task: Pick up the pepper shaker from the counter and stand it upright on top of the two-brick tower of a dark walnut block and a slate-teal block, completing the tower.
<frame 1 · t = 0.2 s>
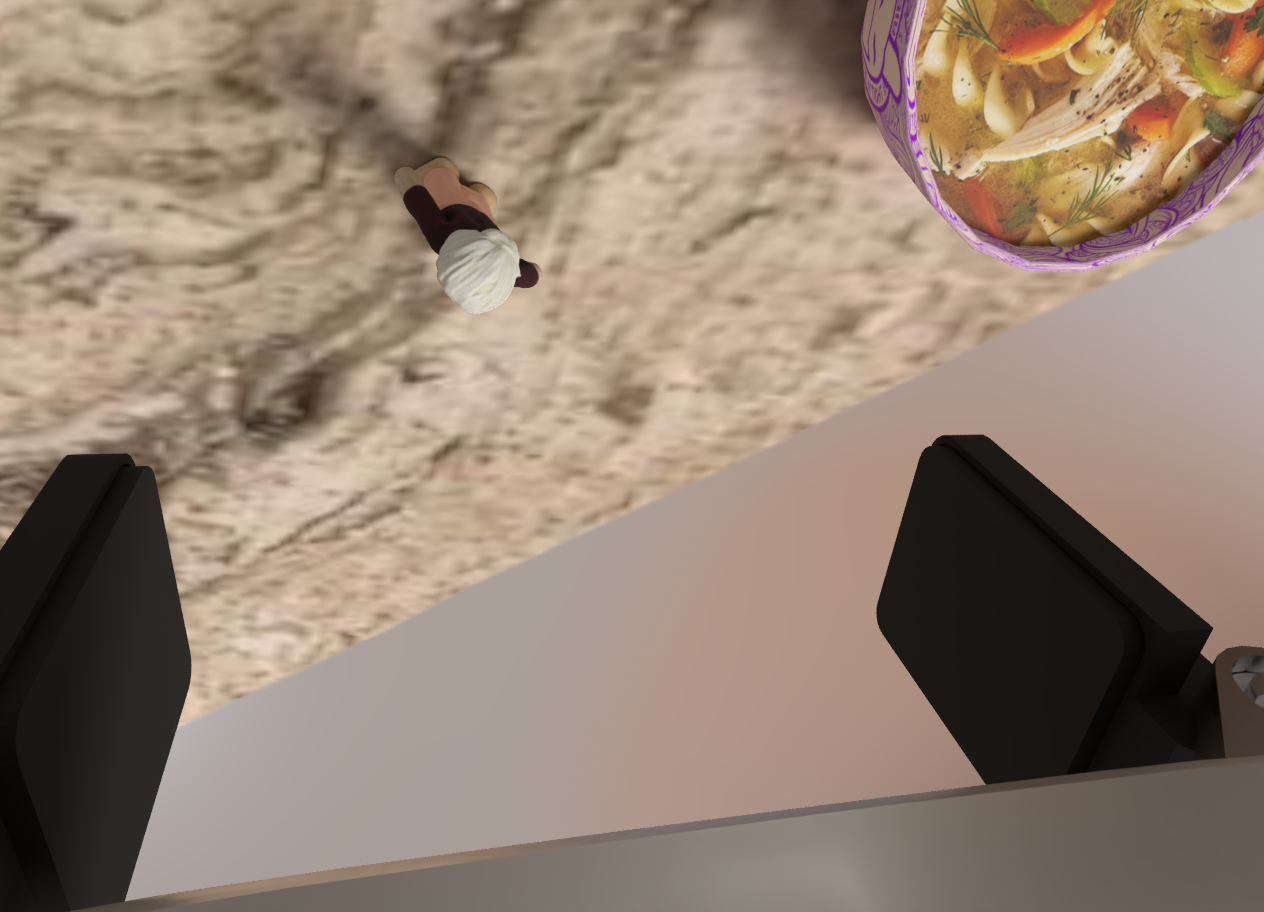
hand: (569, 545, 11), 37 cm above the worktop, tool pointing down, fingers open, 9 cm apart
bowl of food: (975, 14, 45), on the worktop
grandmother figurine: (461, 202, 44), on the worktop
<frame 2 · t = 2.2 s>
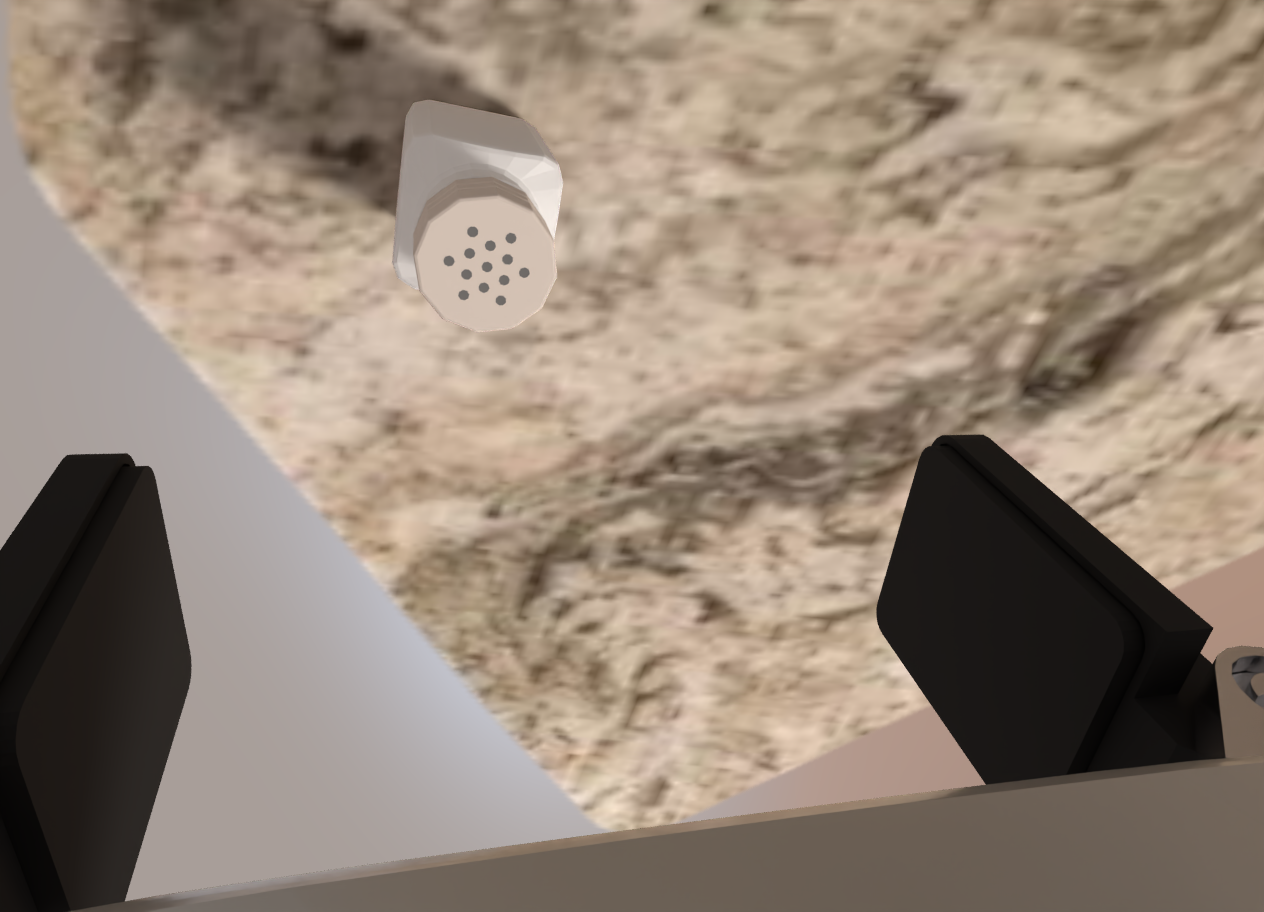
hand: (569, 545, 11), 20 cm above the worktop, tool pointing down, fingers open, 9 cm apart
pepper shaker: (466, 171, 28), on the worktop
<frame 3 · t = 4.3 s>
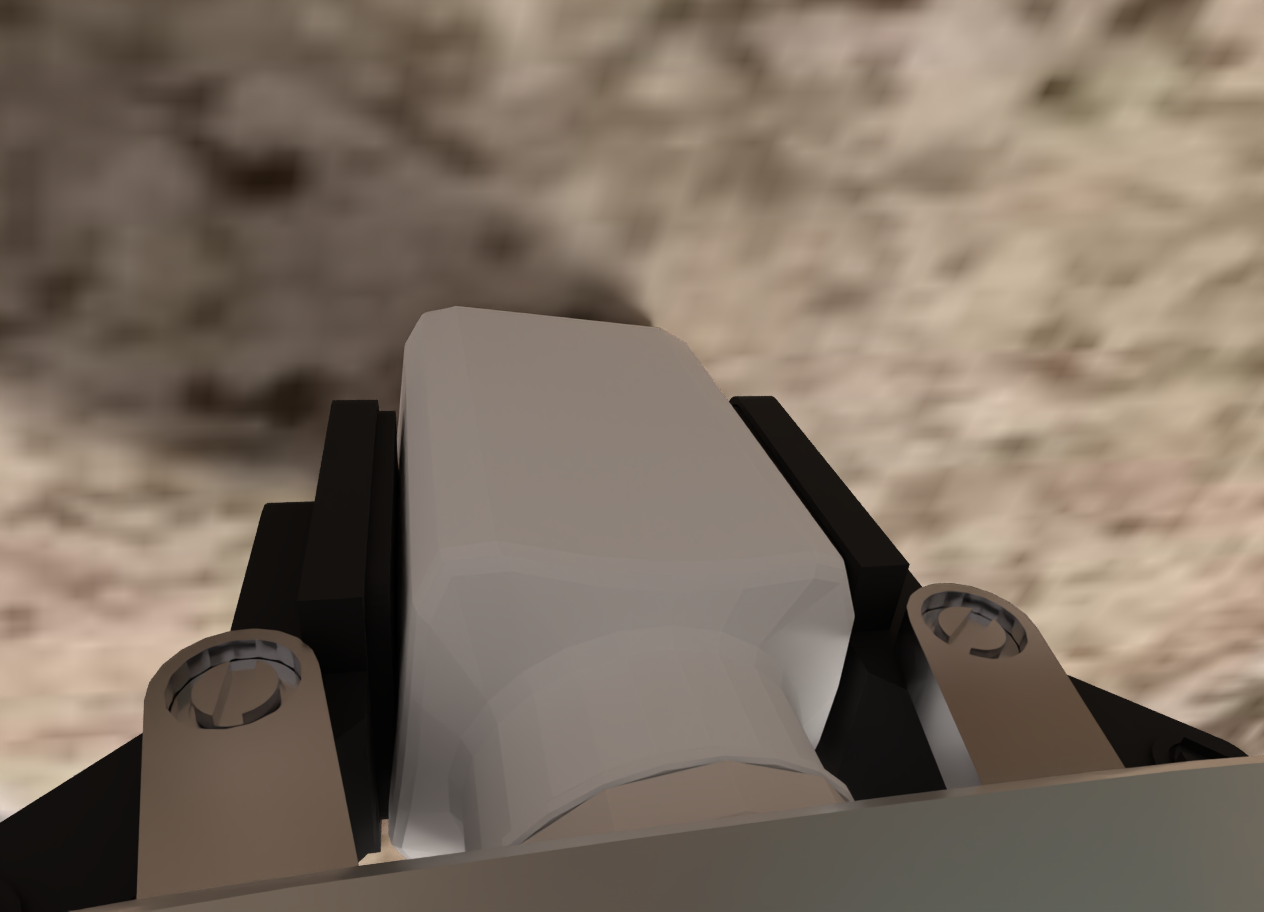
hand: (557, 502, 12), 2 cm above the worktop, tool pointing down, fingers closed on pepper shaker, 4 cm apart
pepper shaker: (532, 421, 13), on the worktop, touching gripper
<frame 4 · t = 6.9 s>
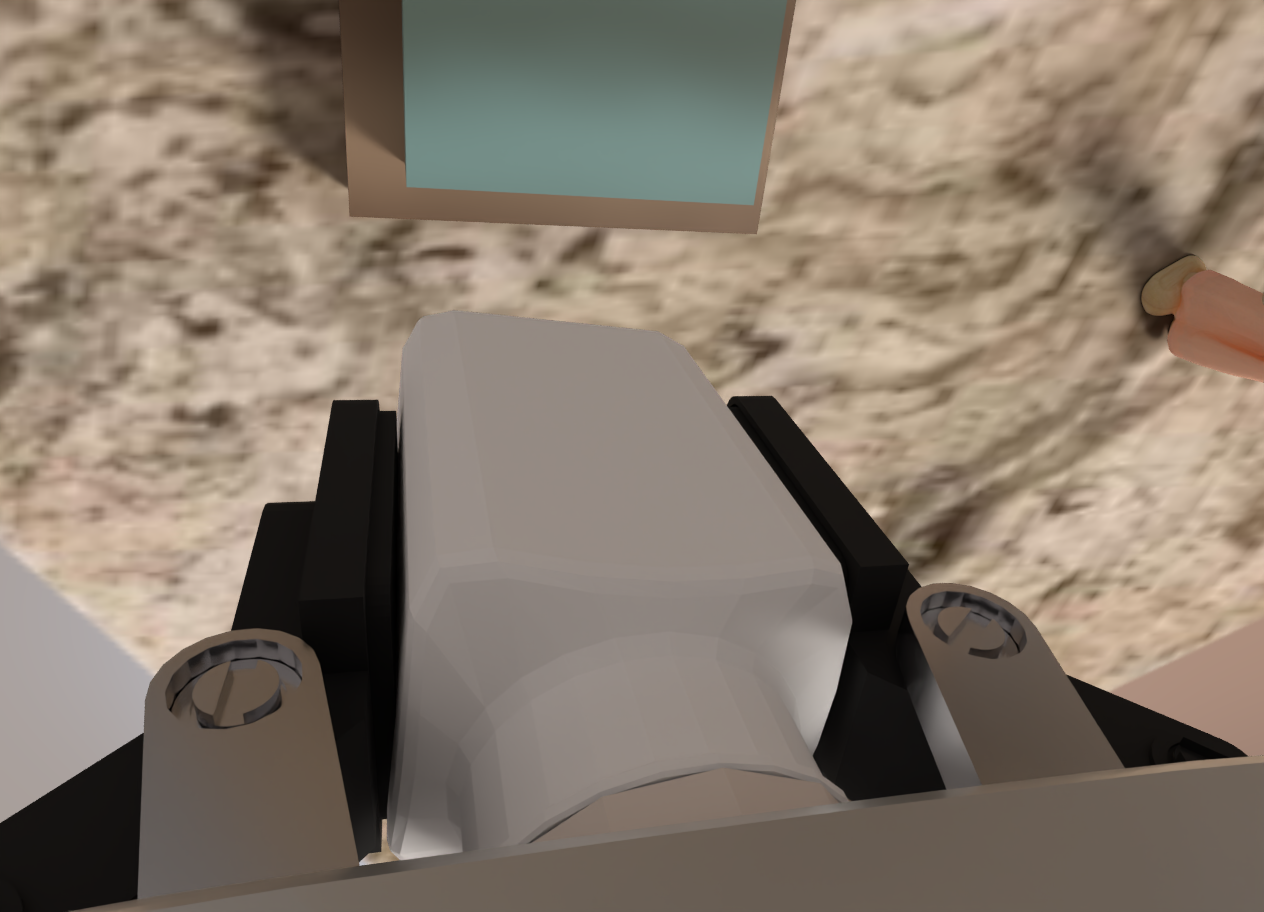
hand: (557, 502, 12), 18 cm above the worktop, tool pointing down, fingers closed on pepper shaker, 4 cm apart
pepper shaker: (530, 424, 13), point 16 cm above the worktop, touching gripper
grandmother figurine: (1185, 306, 36), on the worktop
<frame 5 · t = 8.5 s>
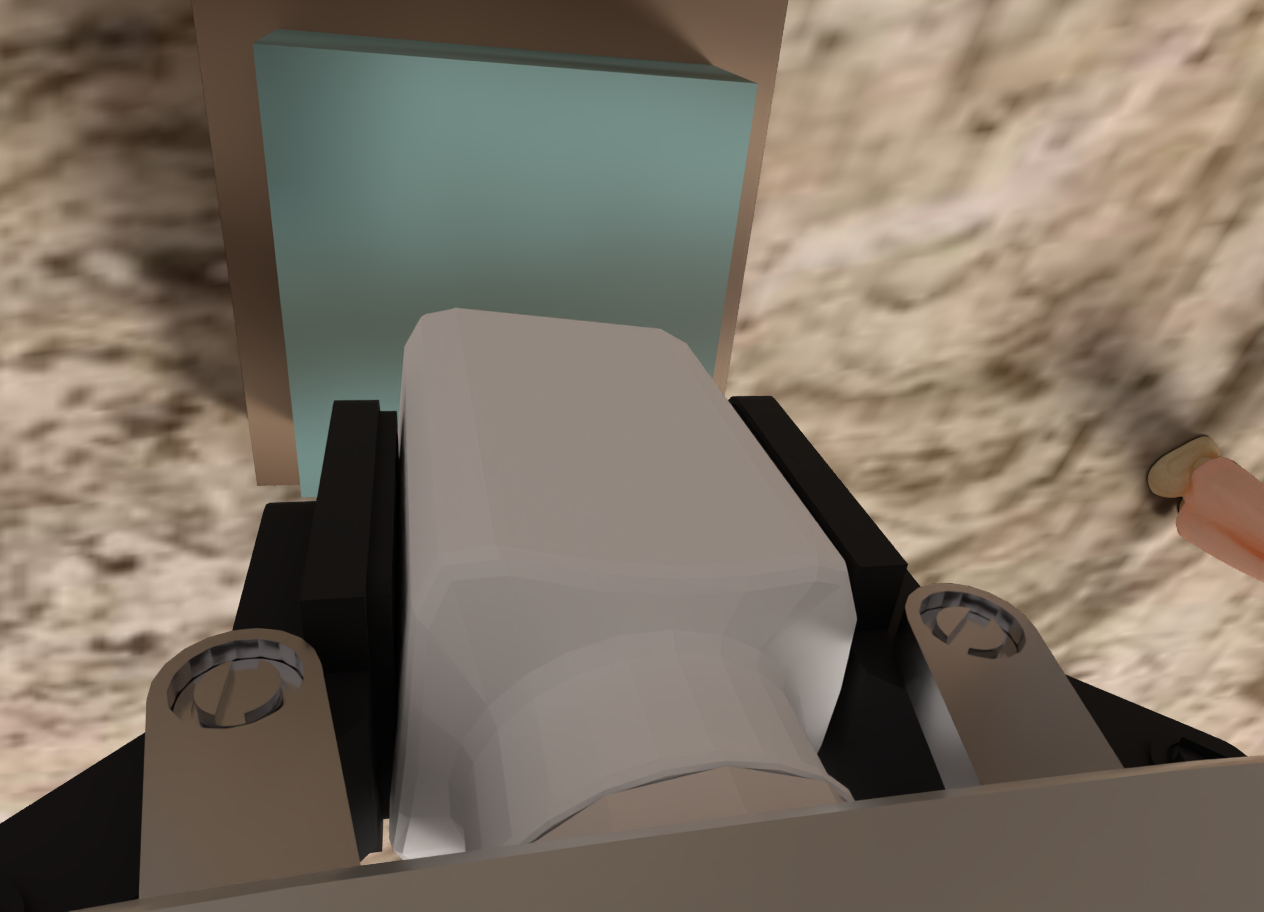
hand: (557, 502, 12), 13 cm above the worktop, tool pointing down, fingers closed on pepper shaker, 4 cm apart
pepper shaker: (532, 423, 13), point 11 cm above the worktop, touching gripper
brick tower: (493, 224, 23), on the worktop
grandmother figurine: (1197, 482, 34), on the worktop
when the fingers open (9 cm above the worktop, at t = 9.6 s): pepper shaker drops 1 cm, resting on brick tower.
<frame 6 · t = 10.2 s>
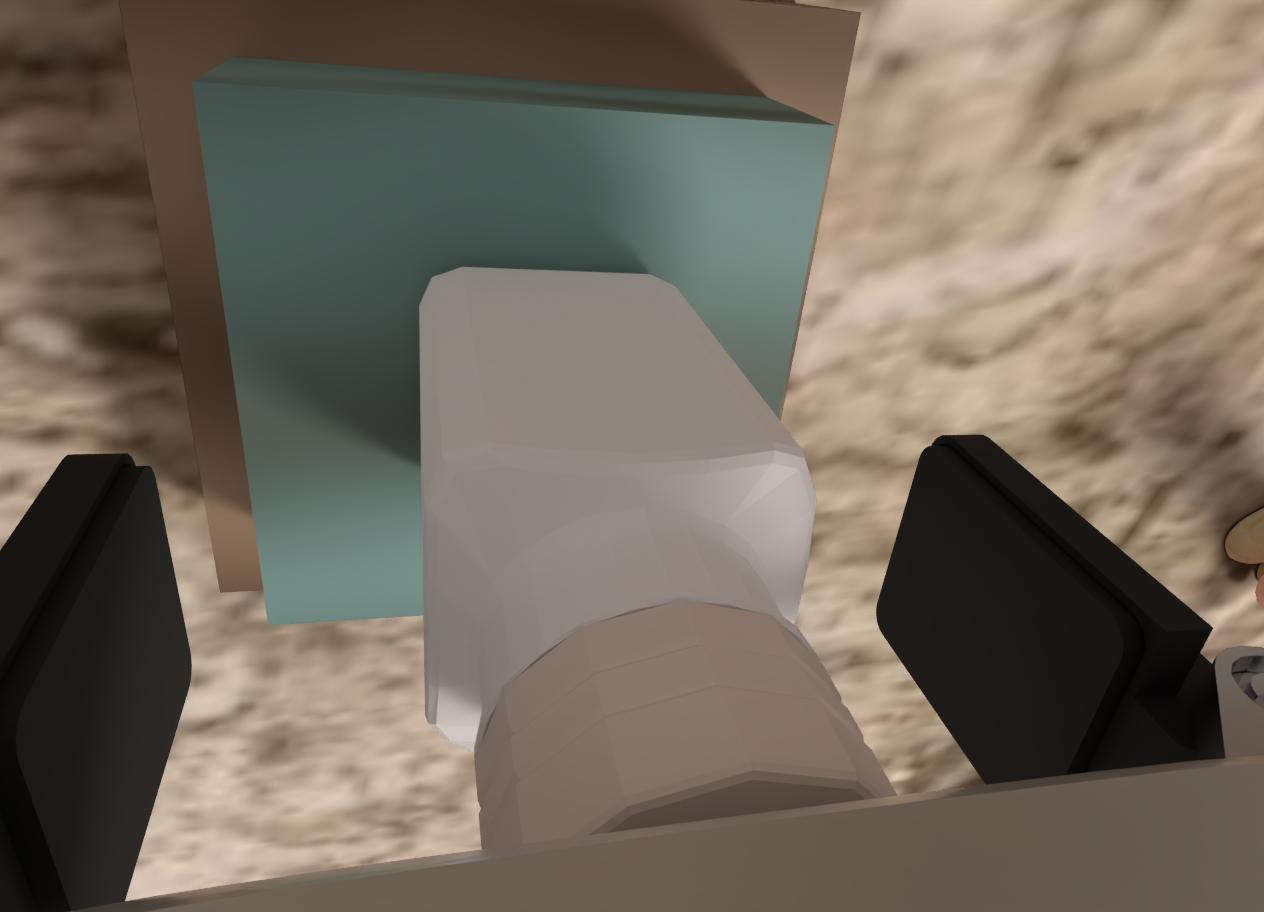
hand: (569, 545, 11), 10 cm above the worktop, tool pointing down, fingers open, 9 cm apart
pepper shaker: (543, 372, 14), point 6 cm above the worktop, touching brick tower
brick tower: (498, 279, 19), on the worktop
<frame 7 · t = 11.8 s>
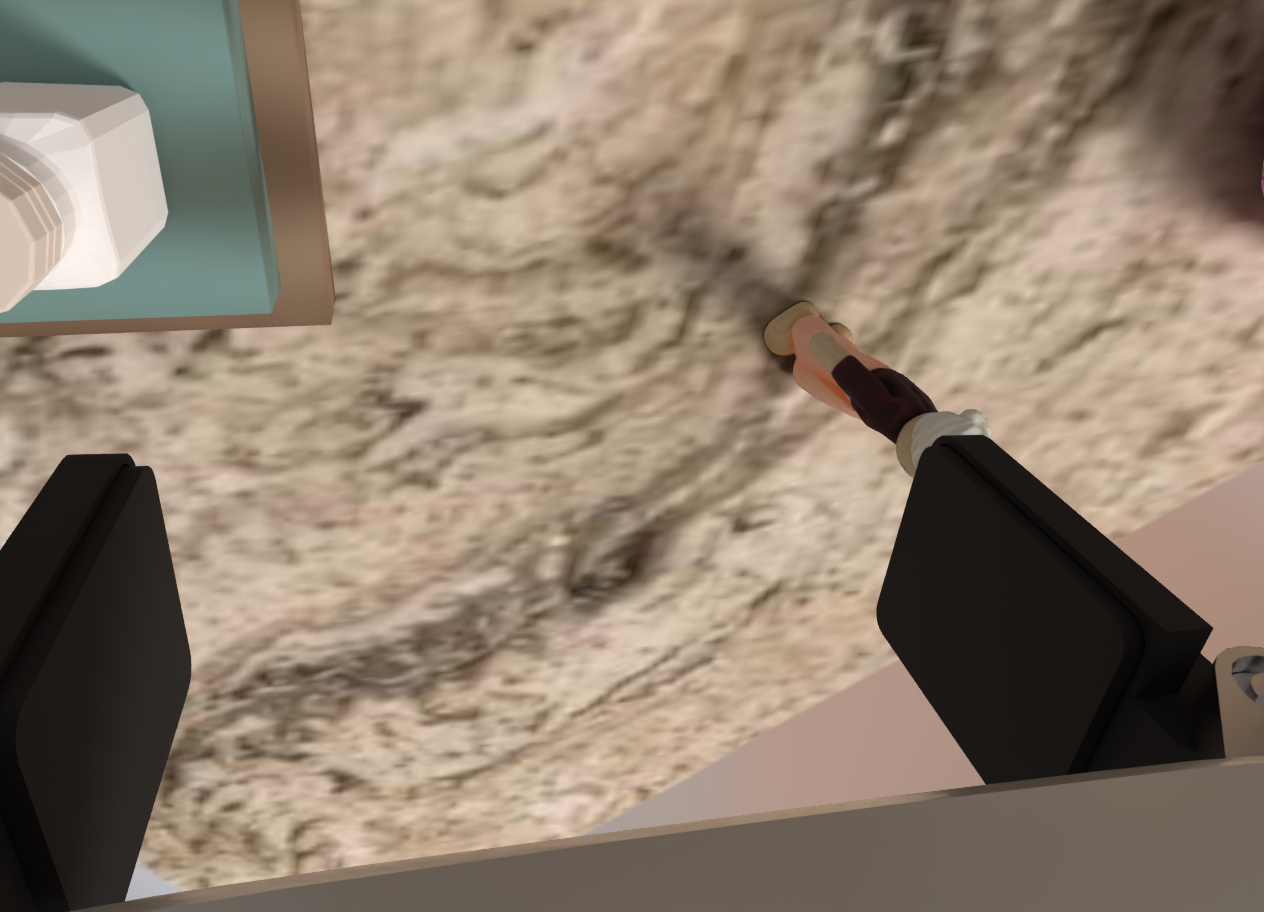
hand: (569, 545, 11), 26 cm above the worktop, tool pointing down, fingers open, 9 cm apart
pepper shaker: (88, 156, 25), point 6 cm above the worktop, touching brick tower
brick tower: (132, 136, 30), on the worktop
grandmother figurine: (815, 344, 41), on the worktop
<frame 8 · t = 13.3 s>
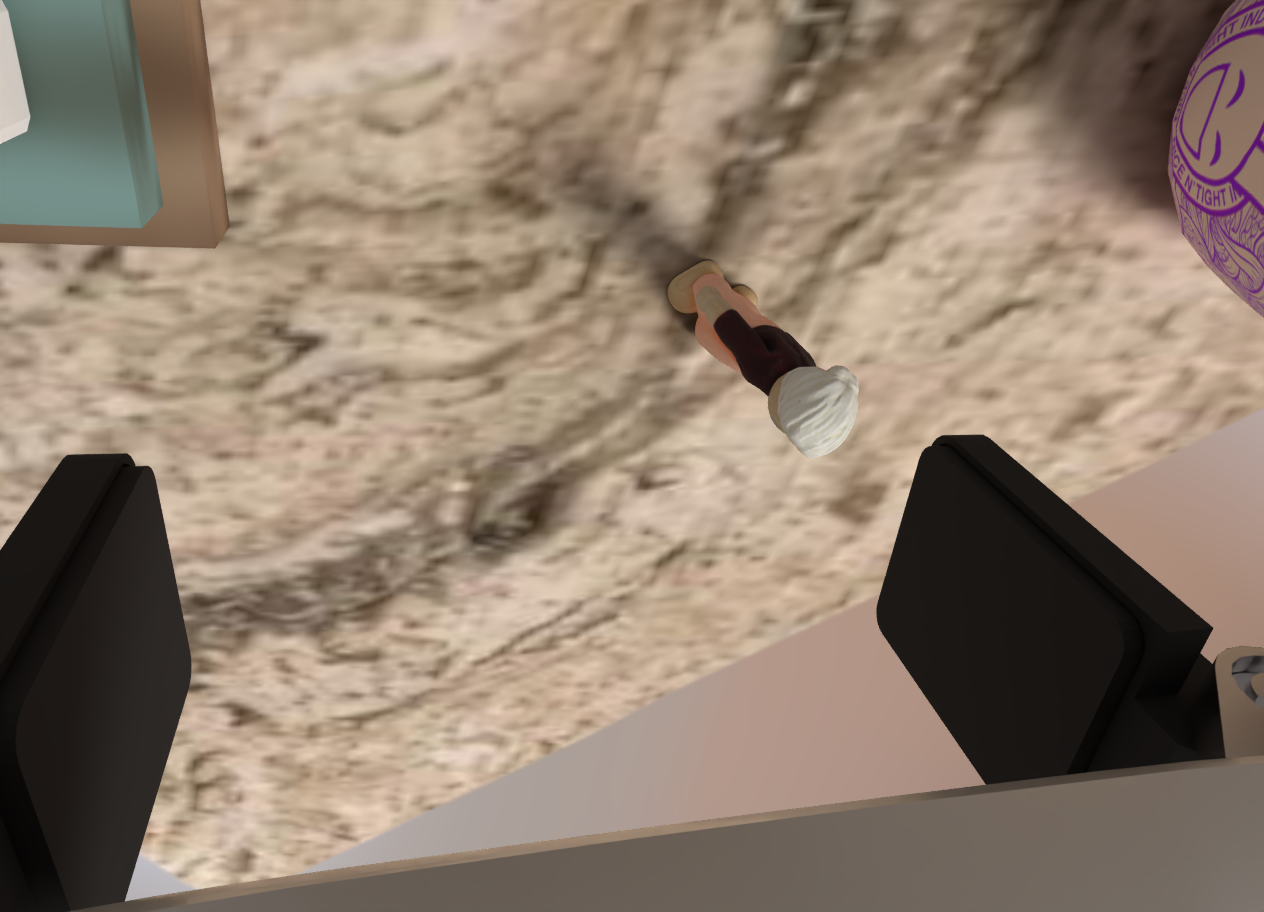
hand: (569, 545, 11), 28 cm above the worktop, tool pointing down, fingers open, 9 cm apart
brick tower: (20, 47, 30), on the worktop
grandmother figurine: (720, 304, 41), on the worktop
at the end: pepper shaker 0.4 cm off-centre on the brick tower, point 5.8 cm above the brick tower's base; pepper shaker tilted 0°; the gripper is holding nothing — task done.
